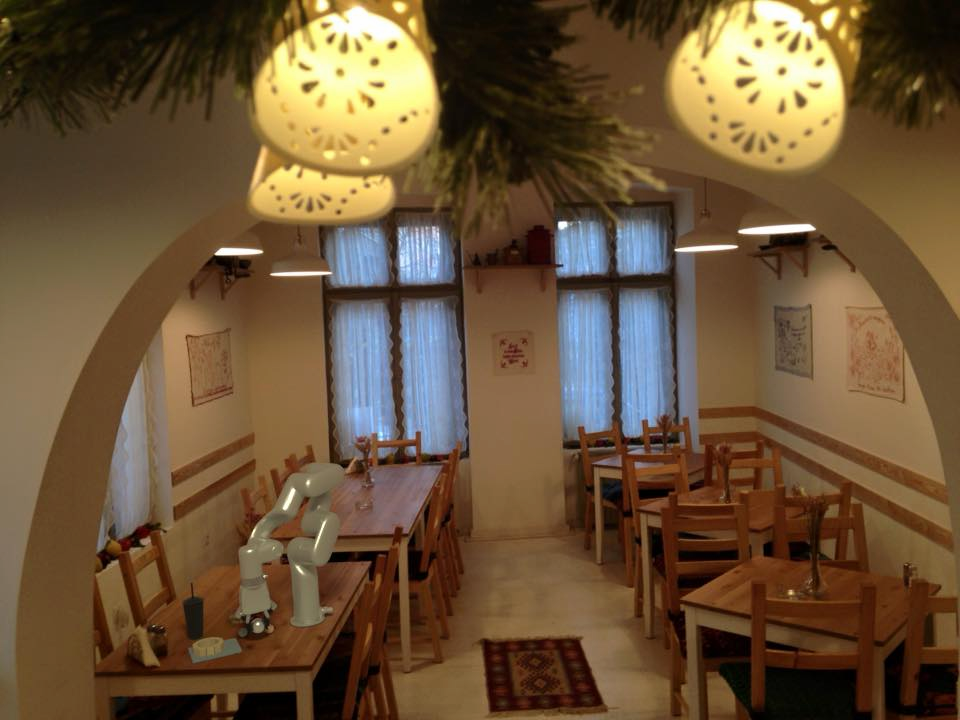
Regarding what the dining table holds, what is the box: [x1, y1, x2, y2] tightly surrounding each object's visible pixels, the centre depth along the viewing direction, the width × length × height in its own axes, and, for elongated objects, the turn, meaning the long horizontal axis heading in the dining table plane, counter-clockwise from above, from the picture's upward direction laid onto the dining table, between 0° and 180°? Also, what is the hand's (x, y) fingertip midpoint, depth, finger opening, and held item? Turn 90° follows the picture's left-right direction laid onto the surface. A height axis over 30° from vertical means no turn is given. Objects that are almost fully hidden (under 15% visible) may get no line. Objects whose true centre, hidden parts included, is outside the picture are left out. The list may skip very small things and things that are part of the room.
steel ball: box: [251, 617, 265, 634], centre depth 292 cm, size 5×5×5 cm
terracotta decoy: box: [264, 623, 275, 635], centre depth 300 cm, size 3×3×3 cm
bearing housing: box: [187, 636, 243, 664], centre depth 286 cm, size 16×12×4 cm
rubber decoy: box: [237, 627, 248, 638], centre depth 298 cm, size 3×3×3 cm
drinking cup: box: [181, 582, 205, 641], centre depth 300 cm, size 8×8×20 cm
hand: (258, 629), depth 292 cm, fingers closed on steel ball, 5 cm apart
